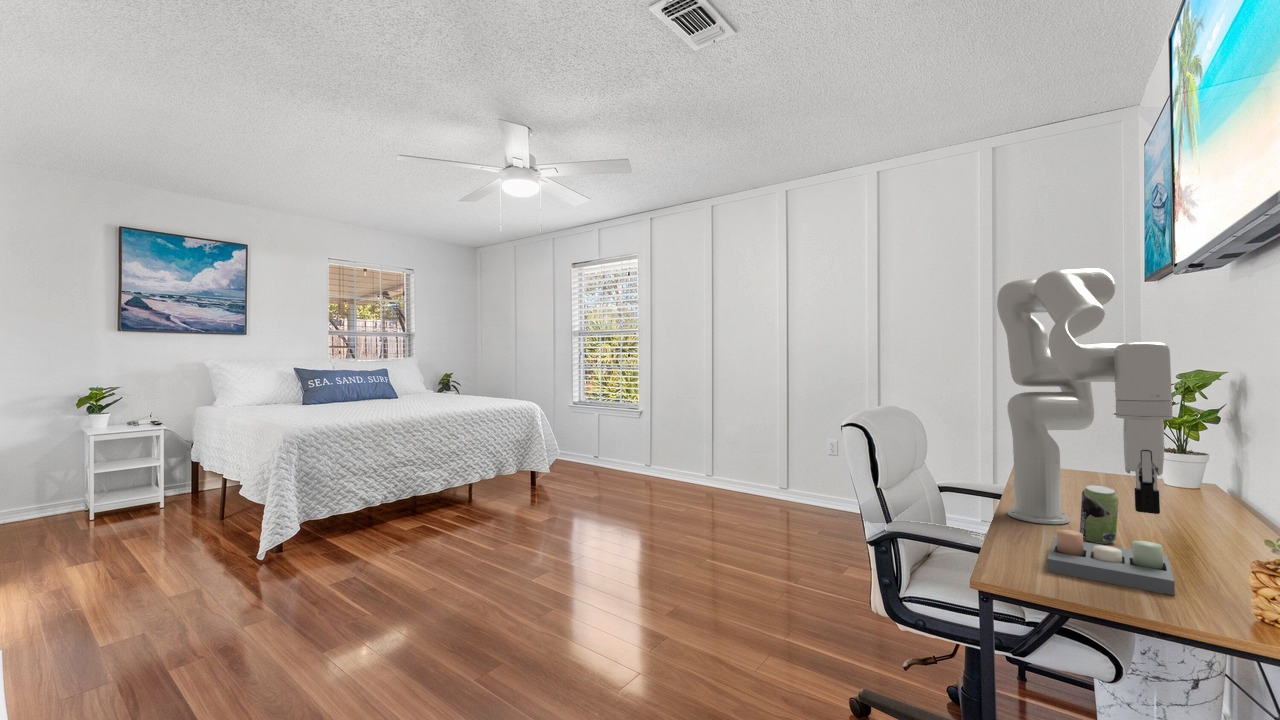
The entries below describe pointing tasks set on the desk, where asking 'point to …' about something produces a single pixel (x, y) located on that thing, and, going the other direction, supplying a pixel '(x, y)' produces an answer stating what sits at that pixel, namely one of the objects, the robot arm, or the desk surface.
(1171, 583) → the panel
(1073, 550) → the terracotta button
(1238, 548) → the desk surface
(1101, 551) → the cream button
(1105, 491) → the beverage can
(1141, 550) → the sage button
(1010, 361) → the robot arm
